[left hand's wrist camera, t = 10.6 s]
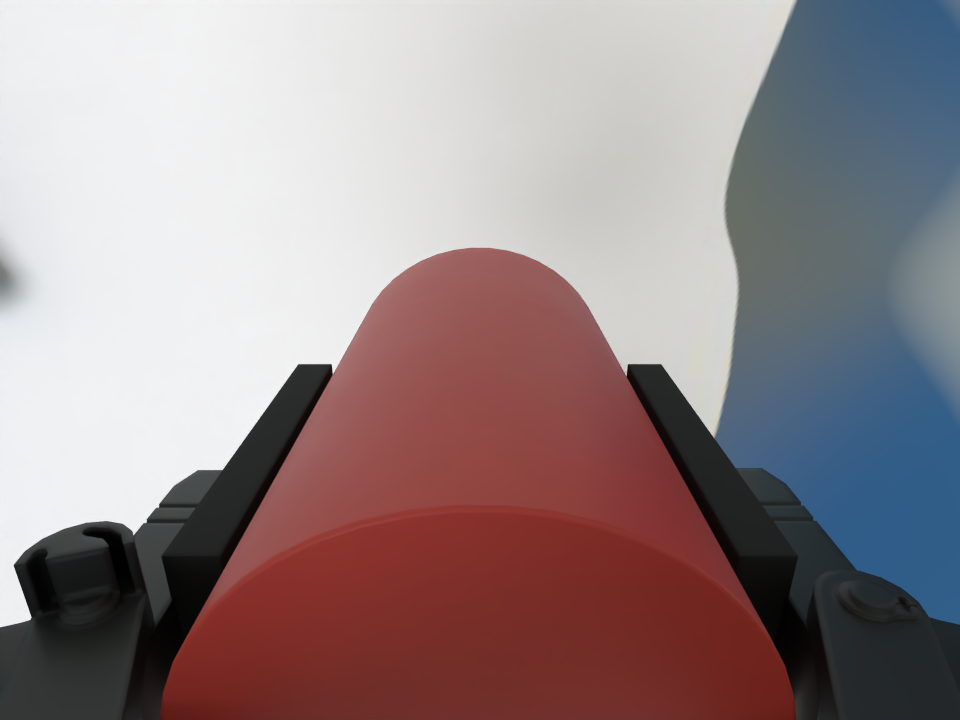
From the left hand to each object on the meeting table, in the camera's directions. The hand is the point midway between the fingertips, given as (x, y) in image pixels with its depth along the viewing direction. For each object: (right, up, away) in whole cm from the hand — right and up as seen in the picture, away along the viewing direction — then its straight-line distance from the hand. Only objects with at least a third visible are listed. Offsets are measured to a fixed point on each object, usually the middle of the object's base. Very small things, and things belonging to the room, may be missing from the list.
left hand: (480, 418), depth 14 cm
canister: (0, +1, +2) cm, 3 cm away
